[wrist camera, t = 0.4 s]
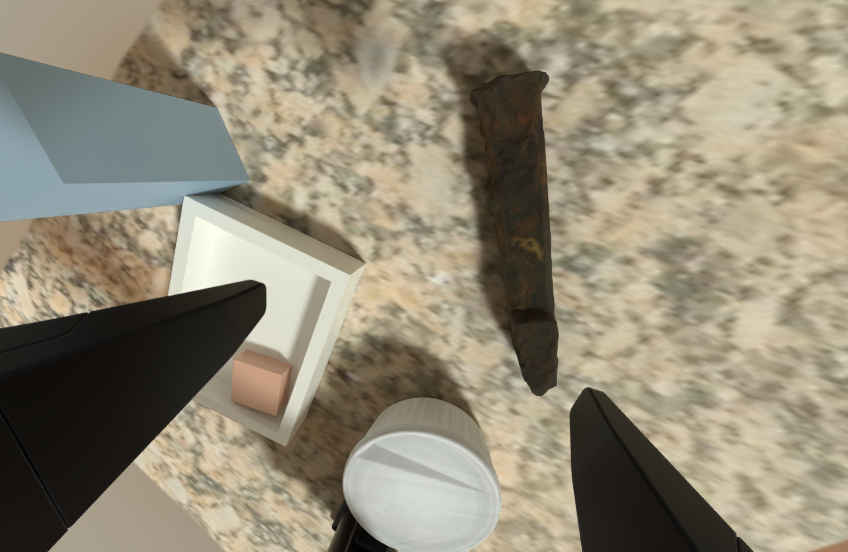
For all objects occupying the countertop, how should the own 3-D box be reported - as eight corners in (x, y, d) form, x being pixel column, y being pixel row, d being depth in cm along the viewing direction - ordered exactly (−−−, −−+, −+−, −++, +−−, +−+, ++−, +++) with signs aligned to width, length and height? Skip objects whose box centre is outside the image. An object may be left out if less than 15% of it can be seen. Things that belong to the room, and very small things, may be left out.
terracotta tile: (287, 404, 27) (276, 416, 26) (243, 389, 28) (231, 400, 26) (292, 364, 26) (281, 375, 25) (246, 349, 27) (233, 359, 25)
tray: (305, 420, 29) (285, 446, 26) (185, 361, 29) (154, 380, 27) (366, 263, 24) (350, 275, 21) (219, 193, 24) (184, 195, 21)
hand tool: (471, 95, 20) (467, 73, 15) (541, 82, 19) (558, 54, 14) (494, 371, 25) (496, 413, 20) (550, 370, 24) (564, 414, 20)
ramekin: (472, 369, 25) (471, 417, 20) (514, 483, 27) (522, 552, 22) (345, 399, 28) (315, 448, 23) (393, 500, 30) (376, 564, 25)
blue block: (249, 180, 23) (63, 184, 13) (196, 202, 25) (-12, 222, 14) (217, 107, 22) (-15, 48, 12) (163, 135, 24) (-89, 104, 13)
